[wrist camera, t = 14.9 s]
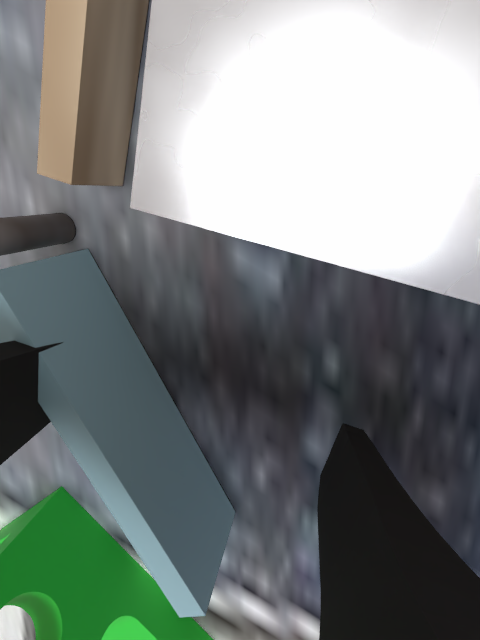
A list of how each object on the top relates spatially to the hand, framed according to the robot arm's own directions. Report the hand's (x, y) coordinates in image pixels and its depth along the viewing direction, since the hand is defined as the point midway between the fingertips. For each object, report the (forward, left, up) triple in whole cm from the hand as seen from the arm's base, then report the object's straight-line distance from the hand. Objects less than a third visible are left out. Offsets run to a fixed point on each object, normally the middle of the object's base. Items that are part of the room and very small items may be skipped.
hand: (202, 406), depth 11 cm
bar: (+7, -3, -2) cm, 8 cm away
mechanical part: (+2, +15, -3) cm, 15 cm away
